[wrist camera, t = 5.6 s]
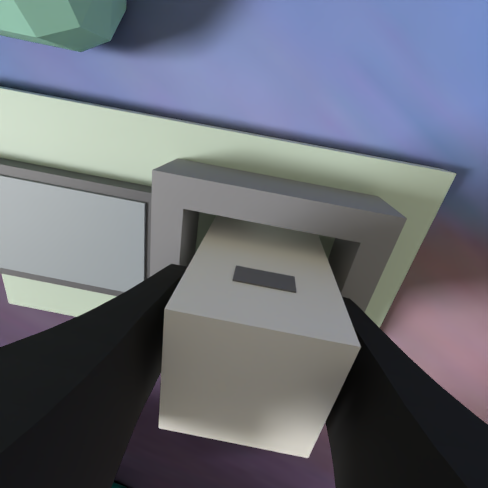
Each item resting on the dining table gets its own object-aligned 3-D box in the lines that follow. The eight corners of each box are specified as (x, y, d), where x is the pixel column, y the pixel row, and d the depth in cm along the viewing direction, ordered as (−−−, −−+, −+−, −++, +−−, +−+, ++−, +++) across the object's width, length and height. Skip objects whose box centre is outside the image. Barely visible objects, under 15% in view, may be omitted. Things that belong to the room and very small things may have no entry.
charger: (292, 311, 13) (308, 458, 7) (207, 294, 13) (158, 427, 7) (317, 230, 11) (361, 344, 5) (217, 211, 11) (164, 306, 6)
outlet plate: (352, 356, 15) (372, 420, 12) (24, 292, 15) (-39, 337, 12) (440, 168, 10) (510, 190, 7) (-21, 82, 11) (-140, 69, 8)
